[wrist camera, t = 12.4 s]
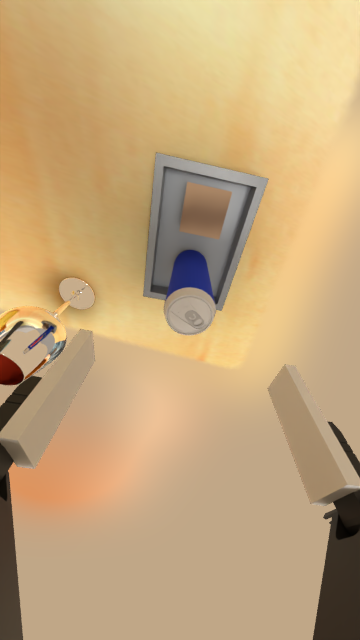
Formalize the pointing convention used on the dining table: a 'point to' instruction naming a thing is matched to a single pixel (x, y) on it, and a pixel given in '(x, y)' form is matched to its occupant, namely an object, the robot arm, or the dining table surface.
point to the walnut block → (204, 210)
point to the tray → (172, 242)
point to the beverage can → (189, 295)
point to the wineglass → (37, 333)
